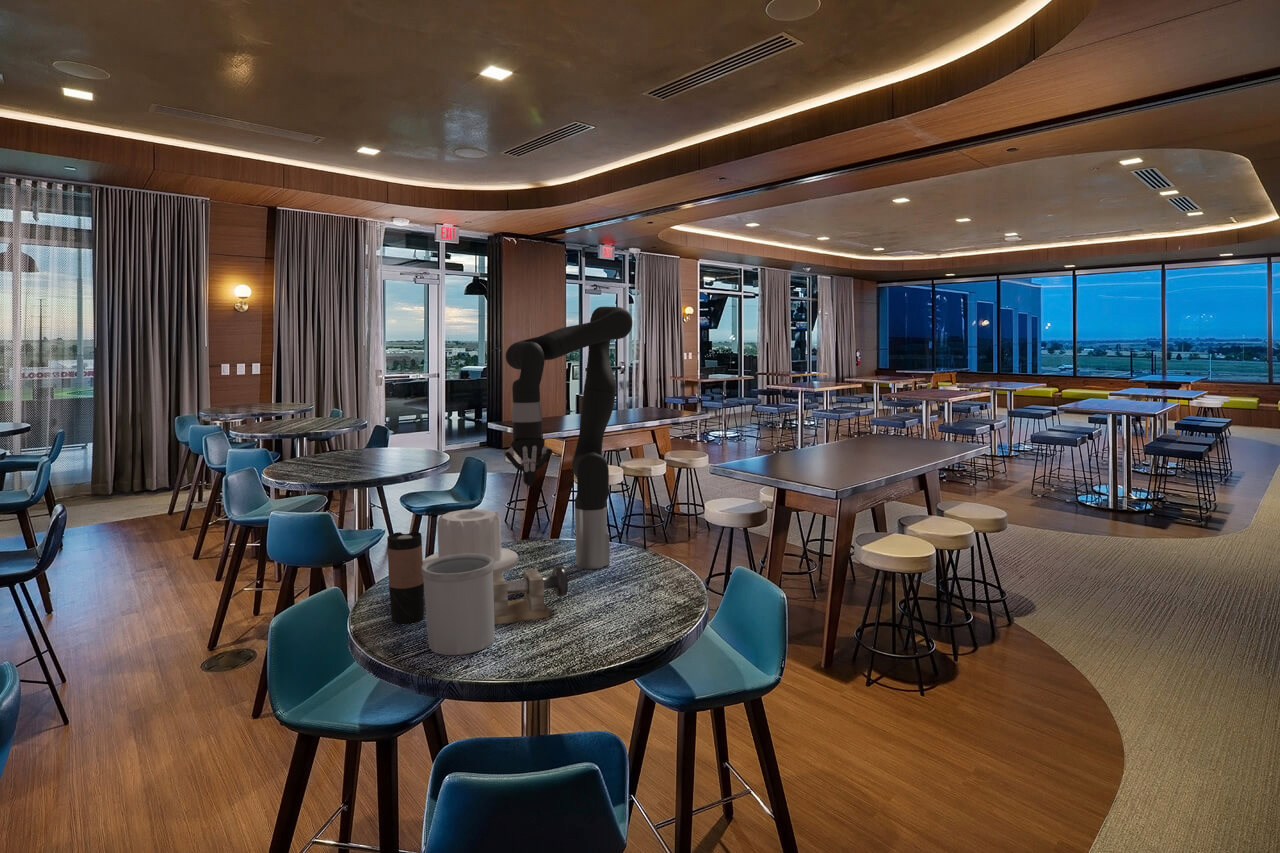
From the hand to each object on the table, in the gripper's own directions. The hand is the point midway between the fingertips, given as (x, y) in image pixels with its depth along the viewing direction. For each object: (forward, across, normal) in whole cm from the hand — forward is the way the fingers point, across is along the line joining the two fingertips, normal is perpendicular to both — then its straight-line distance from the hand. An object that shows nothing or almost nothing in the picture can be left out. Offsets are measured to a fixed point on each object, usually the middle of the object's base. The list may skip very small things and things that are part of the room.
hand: (529, 485), depth 179 cm
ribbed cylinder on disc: (+27, +15, -8) cm, 32 cm away
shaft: (+24, +5, +18) cm, 30 cm away
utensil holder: (+27, +22, +29) cm, 46 cm away
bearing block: (+27, +8, +18) cm, 33 cm away
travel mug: (+27, +32, +11) cm, 44 cm away
